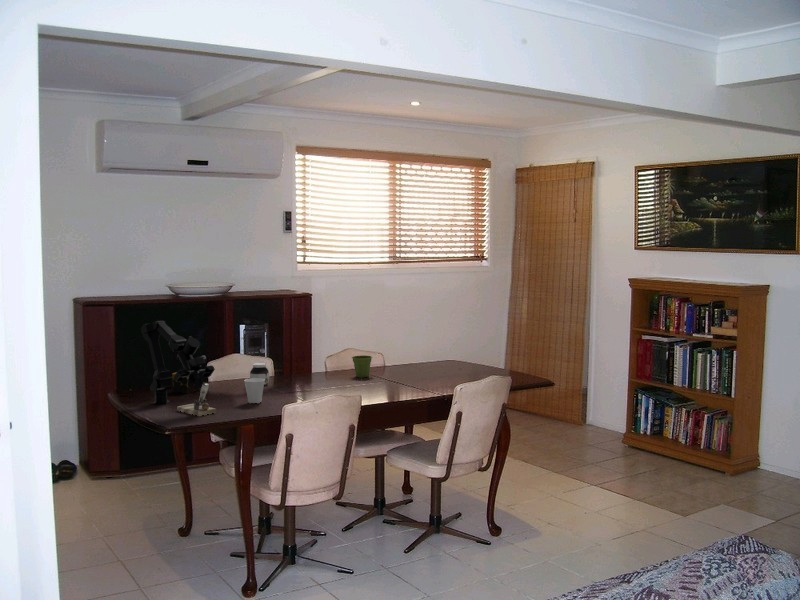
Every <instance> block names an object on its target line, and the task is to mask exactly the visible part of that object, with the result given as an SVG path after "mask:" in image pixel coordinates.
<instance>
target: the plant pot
mask: <svg viewBox="0 0 800 600" xmlns="http://www.w3.org/2000/svg"><path fill="white" fill-rule="evenodd" d="M351 359H352V362H353V368H354V372H355V377H356V378H362V379H363V378H368V377H369V376H370V369H371V362H372V359H373V356H372V355H353V356H351Z"/></svg>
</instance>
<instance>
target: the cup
mask: <svg viewBox="0 0 800 600" xmlns="http://www.w3.org/2000/svg"><path fill="white" fill-rule="evenodd" d="M243 381H244V385H245V390H246V396H247V403H249V404H251V403H257V404H260V402H261V403H262V400H263V393H264V387H265V386H264V381H265V379H261V378H251V379H250V378H246V379H244V380H243Z"/></svg>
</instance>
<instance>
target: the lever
mask: <svg viewBox="0 0 800 600" xmlns="http://www.w3.org/2000/svg"><path fill="white" fill-rule="evenodd" d="M209 386H210V385H209V383H207V382H203V384H202V387H201V388H200V390H199V392H200V394H199V398H198V401H199V406H202V405H203V404H204V399H206V395H207V394H208V391H209Z"/></svg>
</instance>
